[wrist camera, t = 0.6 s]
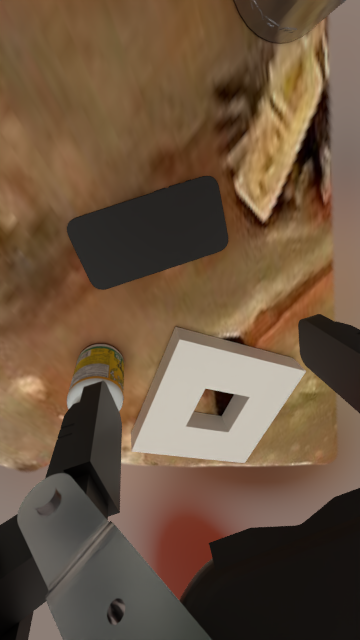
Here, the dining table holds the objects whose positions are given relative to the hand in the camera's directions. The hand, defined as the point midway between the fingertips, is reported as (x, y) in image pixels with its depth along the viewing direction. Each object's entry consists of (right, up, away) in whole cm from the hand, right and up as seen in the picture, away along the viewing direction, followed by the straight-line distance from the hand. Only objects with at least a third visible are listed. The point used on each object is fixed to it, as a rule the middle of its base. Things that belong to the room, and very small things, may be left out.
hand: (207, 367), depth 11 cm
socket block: (+3, -9, +27) cm, 29 cm away
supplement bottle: (-11, -3, +22) cm, 24 cm away
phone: (-4, +11, +16) cm, 20 cm away
